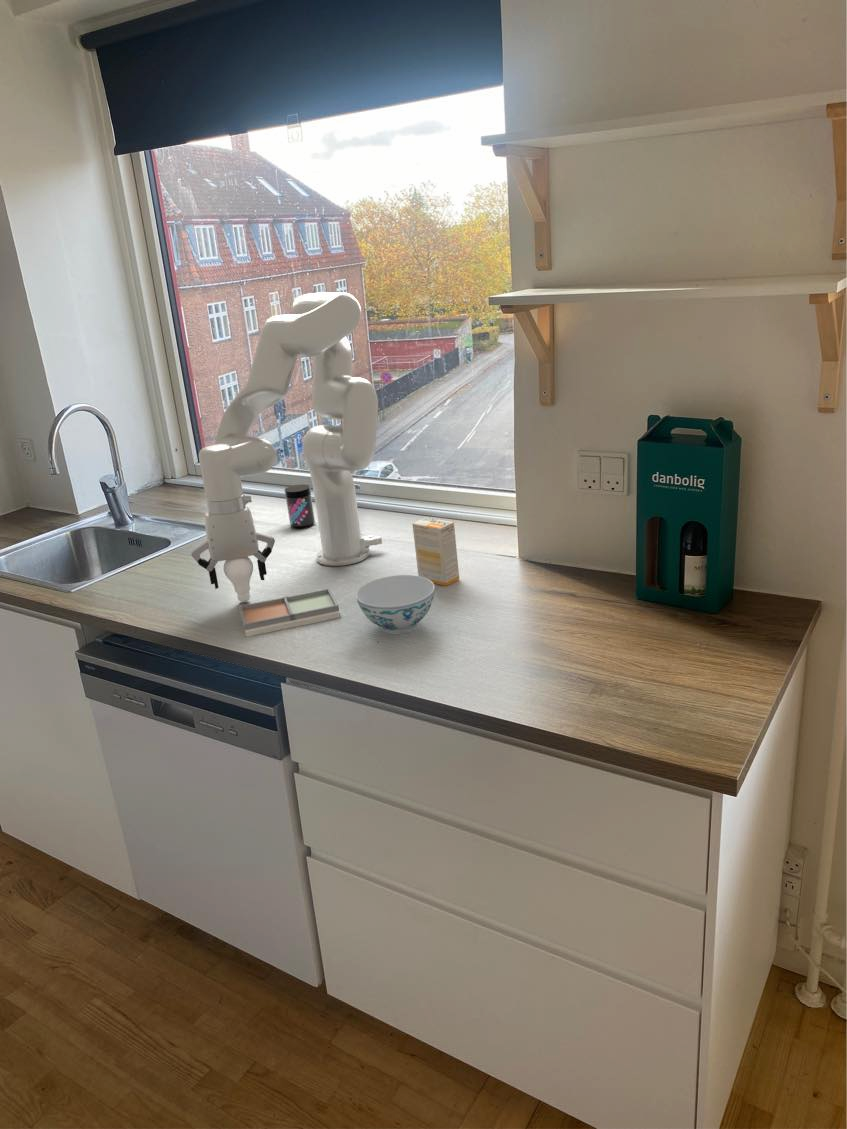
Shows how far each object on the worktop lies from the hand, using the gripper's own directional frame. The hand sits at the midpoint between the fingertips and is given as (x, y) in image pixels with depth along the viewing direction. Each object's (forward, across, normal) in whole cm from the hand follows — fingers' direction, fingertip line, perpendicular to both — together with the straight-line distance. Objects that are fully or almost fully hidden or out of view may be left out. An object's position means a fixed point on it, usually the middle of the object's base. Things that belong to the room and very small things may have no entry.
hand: (239, 582), depth 184 cm
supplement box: (+4, -41, +9) cm, 43 cm away
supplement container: (+4, -20, -46) cm, 51 cm away
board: (+5, -8, +12) cm, 15 cm away
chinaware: (+5, -27, +28) cm, 39 cm away
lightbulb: (+5, 0, 0) cm, 5 cm away
